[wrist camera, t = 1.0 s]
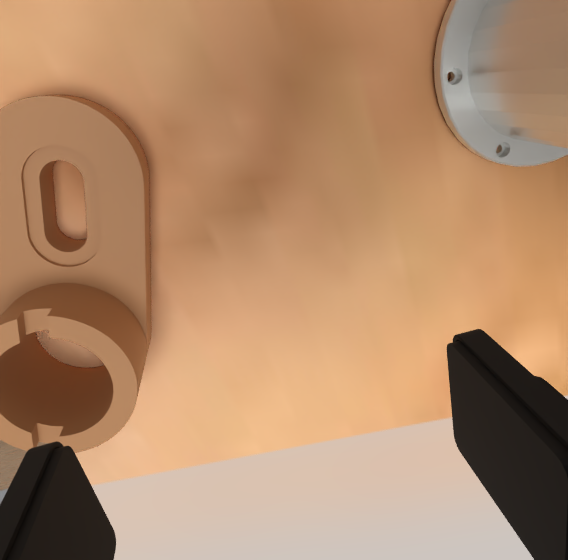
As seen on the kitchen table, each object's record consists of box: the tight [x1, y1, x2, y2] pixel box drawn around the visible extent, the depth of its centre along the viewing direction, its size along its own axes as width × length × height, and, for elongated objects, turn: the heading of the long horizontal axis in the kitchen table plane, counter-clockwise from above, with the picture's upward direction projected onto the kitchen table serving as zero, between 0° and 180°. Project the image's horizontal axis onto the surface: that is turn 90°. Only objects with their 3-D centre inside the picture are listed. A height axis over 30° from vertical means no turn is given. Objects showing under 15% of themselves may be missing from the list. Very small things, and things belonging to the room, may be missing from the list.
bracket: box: [0, 95, 151, 453], centre depth 25 cm, size 18×8×7 cm, turn 174°
